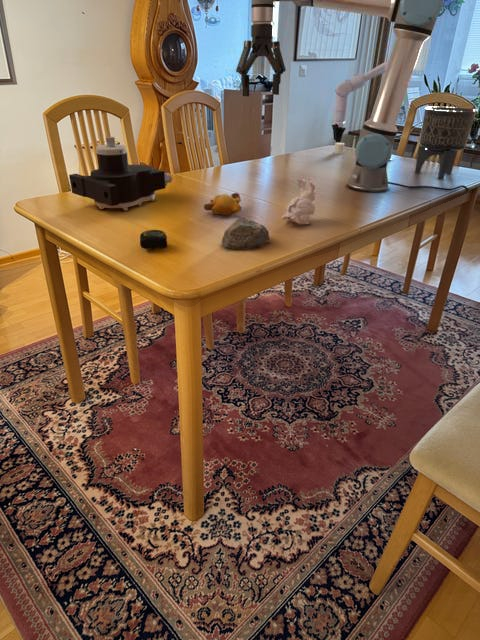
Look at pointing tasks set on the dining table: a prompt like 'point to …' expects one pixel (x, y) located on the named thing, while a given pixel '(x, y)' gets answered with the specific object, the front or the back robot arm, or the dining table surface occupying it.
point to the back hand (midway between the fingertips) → (336, 141)
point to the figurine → (301, 204)
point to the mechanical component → (118, 179)
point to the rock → (245, 234)
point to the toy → (224, 204)
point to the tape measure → (153, 239)
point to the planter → (444, 136)
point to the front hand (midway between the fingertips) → (261, 95)
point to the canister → (339, 148)
